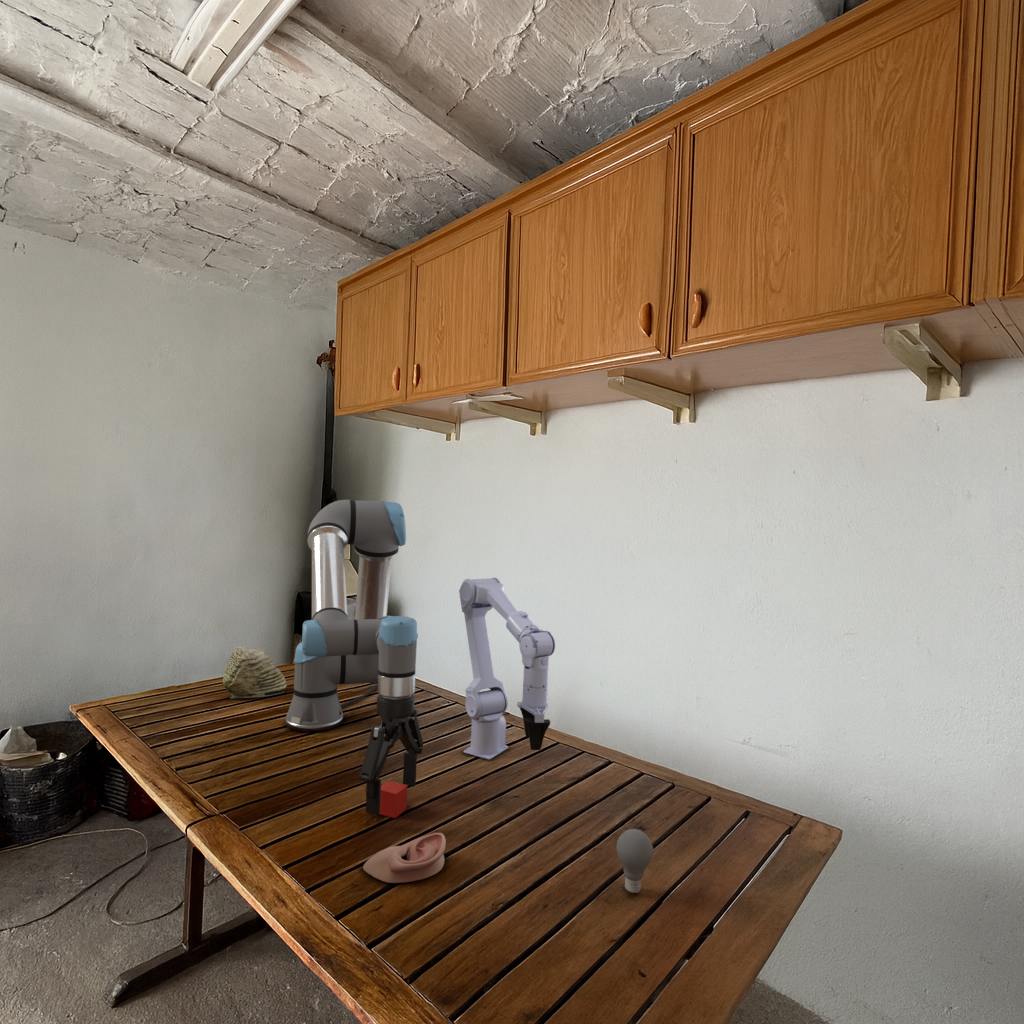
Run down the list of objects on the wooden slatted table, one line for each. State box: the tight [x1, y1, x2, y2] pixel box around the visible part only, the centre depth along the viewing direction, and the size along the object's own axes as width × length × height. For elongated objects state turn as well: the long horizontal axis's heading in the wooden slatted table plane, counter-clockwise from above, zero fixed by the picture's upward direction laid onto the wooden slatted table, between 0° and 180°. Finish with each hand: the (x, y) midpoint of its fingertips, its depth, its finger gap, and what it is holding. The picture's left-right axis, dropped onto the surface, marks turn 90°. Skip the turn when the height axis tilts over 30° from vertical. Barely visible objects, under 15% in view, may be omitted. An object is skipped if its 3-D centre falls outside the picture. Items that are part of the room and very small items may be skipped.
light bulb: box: [615, 828, 654, 894], centre depth 106 cm, size 6×6×10 cm
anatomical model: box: [362, 832, 447, 884], centre depth 110 cm, size 13×4×12 cm
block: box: [378, 780, 408, 819], centre depth 129 cm, size 4×5×5 cm
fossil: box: [222, 646, 288, 699], centre depth 198 cm, size 9×18×15 cm, turn 132°
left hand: (391, 798), depth 129 cm, fingers open, 13 cm apart
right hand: (532, 742), depth 146 cm, fingers open, 7 cm apart
